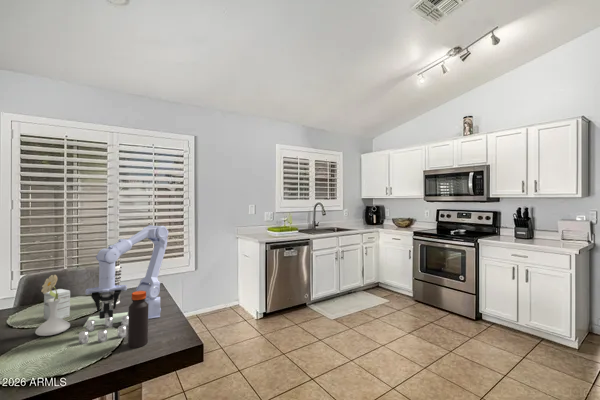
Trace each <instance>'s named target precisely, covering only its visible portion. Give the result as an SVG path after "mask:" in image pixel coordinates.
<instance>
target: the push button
mask: <svg viewBox="0 0 600 400" xmlns="http://www.w3.org/2000/svg"><path fill="white" fill-rule="evenodd" d="M99 298H100V302H101V305H100V310H99V314H96V315H94V316H99V317H96V318H100V319H103V318H109V317H113V314H114V309H113V307H112V306H113V305H112V299H113V298H114V295H113V294H112V293H111V292H108V293H101V295H100V297H99ZM109 301H110V306H109ZM103 302H104V306H103Z"/></svg>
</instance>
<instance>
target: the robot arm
mask: <svg viewBox="0 0 600 400" xmlns="http://www.w3.org/2000/svg"><path fill="white" fill-rule="evenodd" d="M169 232H170V231H169V230H168V229H167V227H166V226H165V225H152V224H149V225H147V226H145V227H143V228H142V229H141V230H139V231H138V232H137V233H135V234H134V235H132V236H130V237H129V238H127V239H126V238H120V239H118V240H117V242H115V243H114V244H112V245H111V244H110V245H108V246H107V247H106V248H105V247H104V248H102V249H100V250H99V251H98V253H97V255H95V258H96V260H97V262H98V265H99V266H98V286H97V287H90V288H86V289H85V295H89V294H91V299H92V300H93V302H94V305H95V307H96V311H97V312H100V311H101V301H100V298H99V297H100V296H101V294H103V293H102V292H112V291H115V292H114V293H113V295H114V303H113V305H112V306H113V307H112V310H114V309H116V308H117V304H116V303H117V300H118V297H119V295H120V296H121V292H122V291H127V290H128V286H127V284H119V285H115V262H116V261H117V260H118V258H119V257H121V256H122V255H124V254H125V253H127V252H129V251H131V250H132V249H133V248H132V247H133V246H134V245H136V244H137V243H140V242H141V241H143V240H145V239H148V240H150V242H152V244H153V245H154V247H153V250H152V252H151V256H150V259H149V264H148V266H147V270H146V274H145V276H144V277H142V279H140V281H139V284H138V285H137V287H136V288H135V292H137V291H146V299H145V301H146V302H147V303H148V320H151V319H158V318H161V312H162V308H161V296H159V294H160V291H161V290H160V289H161V288H160V287H161V282H160V281H159V279H158V277H159V275H160V269H161V267H162V263H163V260H164V258H165V257H164V256H165V253H166V250H167V246H168V236H169V234H170V233H169ZM119 259H120V258H119Z"/></svg>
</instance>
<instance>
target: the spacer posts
mask: <svg viewBox="0 0 600 400" xmlns="http://www.w3.org/2000/svg"><path fill="white" fill-rule="evenodd" d="M128 320H129V314H128V315H125V316H122V322H120V323H121V325H119V326H118V327H117V338H118V339H123V338H126V337H127V327H128ZM85 323H86V327H85V330H82V331H79V332H78V344H79V345H85V344H88V343H89V333H91V332H94V331H95V330H96V329H95V328H96V326H95V320H89V321H87V320H86V322H85ZM113 326H114V323H113V317H109V318H105V325H104V328H105V329H100V330H98V331H97V343H99V344H100V343H101V344H102V343H105V342H107V341H108V329H110V328H113Z"/></svg>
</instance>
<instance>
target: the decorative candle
mask: <svg viewBox="0 0 600 400" xmlns="http://www.w3.org/2000/svg"><path fill="white" fill-rule="evenodd" d="M121 269H122V266H121V258H118V260H117V261H116V262H115V285H120V282H121V278H122V277H121V275H122V273H121V272H122V270H121ZM114 292H115V291H112V292H111V293H112V294H113V293H114ZM103 293H108V292H102V293H101V294H103ZM120 300H121V294H120V295H119V297H118V300H117V303H116V305H118V304H120V303H121V301H120ZM113 303H114V298H113V299H112V306H113ZM103 307H104V302H103ZM109 307H110V301H109Z"/></svg>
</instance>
